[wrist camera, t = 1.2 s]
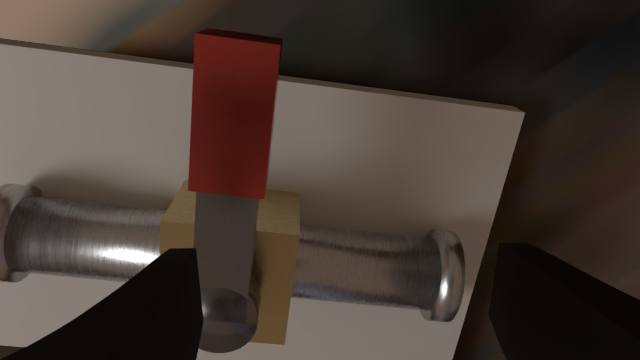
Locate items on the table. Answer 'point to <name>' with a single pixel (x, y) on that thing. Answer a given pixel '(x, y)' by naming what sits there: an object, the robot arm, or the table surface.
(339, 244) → the valve body
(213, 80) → the valve lever
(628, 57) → the table surface
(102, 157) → the mounting board
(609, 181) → the table surface
